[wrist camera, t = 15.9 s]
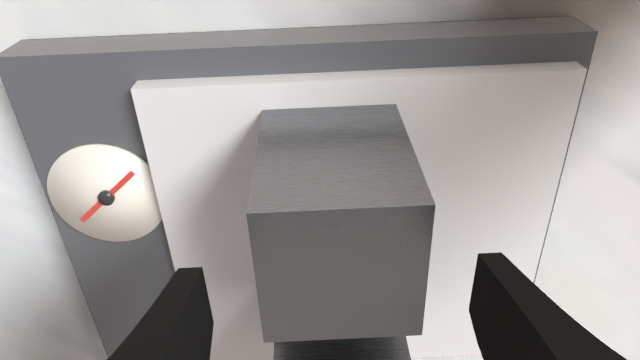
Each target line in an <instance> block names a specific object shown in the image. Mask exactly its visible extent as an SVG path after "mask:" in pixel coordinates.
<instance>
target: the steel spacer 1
mask: <svg viewBox="0 0 640 360" xmlns="http://www.w3.org/2000/svg"><path fill="white" fill-rule="evenodd" d="M434 215H435V202H434V200H433V197H432V195H431V192H430V190H429V187H428V185H427V182H426V179H425V177H424V174H423V172H422V169H421V167H420V164H419V162H418V159H417V156H416V154H415V151H414V149H413V146H412V144H411V141H410V139H409V136H408V134H407V131H406V128H405V126H404V123H403V121H402V118H401V116H400V113H399V111H398V108H397V105H396V104H384V105H361V106H339V107H316V108H293V109H271V110H263V111H262V117H261V124H260V130H259V136H258V143H257V149H256V155H255V162H254V168H253V174H252V180H251V187H250V193H249V199H248V206H247V212H246V216H247V223H248V230H249V238H250V245H251V252H252V260H253V267H254V274H255V282H256V289H257V296H258V304H259V311H260V318H261V326H262V333H263V340H264V343H269V342H290V341H311V340H332V339H353V338H374V337H395V336H416V335H422V331H423V321H424V311H425V302H426V292H427V282H428V273H429V263H430V253H431V244H432V234H433V225H434Z"/></svg>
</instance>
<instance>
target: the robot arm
mask: <svg viewBox="0 0 640 360" xmlns="http://www.w3.org/2000/svg"><path fill="white" fill-rule="evenodd" d="M469 313H470V317H471V321H472V325H473V329H474V332H475V336H476V340H477V343H478V346H479V349H480V352H481V354H482V357H483V359H484V360H626V359H625V358H624V357H622V356H621V355H619V354H618V353H617V352H615V351H614V350H612V349H611V348H609V347H608V346H607V345H605V344H604V343H603V342H601V341H600V340H599V339H598V338H596V337H595V336H594V335H593V334H591V333H590V332H589V331H588V330H586V329H585V328H584V327H583V326H581V325H580V324H579V323H578V322H576V321H575V320H574V319H573V318H572V317H570V316H569V315H568V314H567V313H566V312H565V311H563V310H562V309H561V308H560V307H559V306H558V305H557V304H556V303H554V302H553V301H552V300H551V299H550V298H549V297H548V296H547V295H546V294H545V293H543V292H542V291H541V290H540V289H539V288H538V287H537V286H536V285H535V284H534V283H533V282H532V281H531V280H530V279H529V278H528V277H527V276H525V275H524V274H523V273H522V272H521V271H520V270H519V269H518V268H517V267H516V266H515V265H514V264H513V263H512V262H511V261H510V260H509V259H508V258H507V257H506V256H505V255H504V254H503V253H501V252H499V253H478V257H477V263H476V269H475V275H474V281H473V287H472V292H471V298H470V304H469ZM213 325H214V321H213V316H212V312H211V307H210V302H209V297H208V292H207V287H206V283H205V278H204V273H203V268H202V267H192V268H179V269H178V270H177V271H176V272H175V273H174V274H173V276H172V277H171V279H170V280H169V282H168V283H167V284H166V286H165V287H164V289H163V290H162V291H161V293H160V294H159V296H158V297H157V298H156V300H155V301H154V302H153V304H152V305H151V307H150V308H149V309H148V311H147V312H146V313H145V314H144V316H143V317H142V318H141V320H140V321H139V322H138V323H137V325H136V326H135V327H134V329H133V330H132V331H131V332H130V334H129V335H128V336H127V337H126V338H125V339H124V341H123V342H122V343H121V344H120V345H119V346H118V348H117V349H116V350H115V351H114V352H113V353H112V355H111V356H110V357H109V358H108V359H107V360H210V353H211V344H212V335H213Z"/></svg>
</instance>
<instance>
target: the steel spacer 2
mask: <svg viewBox="0 0 640 360" xmlns="http://www.w3.org/2000/svg"><path fill="white" fill-rule="evenodd" d="M273 360H411V357H410V353H409V348H408V344H407V339H406V336H395V337H374V338H353V339H332V340H311V341H290V342H274V354H273Z"/></svg>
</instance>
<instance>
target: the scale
mask: <svg viewBox="0 0 640 360" xmlns="http://www.w3.org/2000/svg"><path fill="white" fill-rule="evenodd" d="M597 33H598V31H596V30H595V29H593V28H591V27H589V26H588V25H586V24H584V23H582V22H581V21H579V20H577V19H575V18H573V17H572V16H561V17H538V18H514V19H491V20H468V21H445V22H422V23H399V24H375V25H352V26H329V27H306V28H283V29H259V30H236V31H213V32H190V33H167V34H143V35H120V36H97V37H74V38H51V39H27V40H21V41H19V42H17V43H16V44H14V45H13V46H11V47H9V48H8V49H6V50H5V51H3V52H1V53H0V76H1V79H2V81H3V84H4V87H5V89H6V92H7V94H8V97H9V100H10V102H11V105H12V108H13V110H14V113H15V115H16V118H17V121H18V123H19V126H20V128H21V131H22V134H23V136H24V139H25V141H26V144H27V147H28V149H29V152H30V155H31V157H32V160H33V162H34V165H35V168H36V170H37V173H38V175H39V178H40V181H41V183H42V186H43V189H44V191H45V194H46V196H47V199H48V202H49V204H50V207H51V209H52V212H53V215H54V217H55V220H56V223H57V225H58V228H59V230H60V233H61V236H62V238H63V241H64V243H65V246H66V249H67V251H68V254H69V256H70V259H71V262H72V264H73V267H74V270H75V272H76V275H77V277H78V280H79V283H80V285H81V288H82V290H83V293H84V296H85V298H86V301H87V304H88V306H89V309H90V311H91V314H92V317H93V319H94V322H95V324H96V327H97V330H98V332H99V335H100V338H101V340H102V343H103V345H104V348H105V351H106V353H107V356H108V358H109V357H110V356H111V355H112V353H113V352H114V351H115V350H116V349H117V348H118V346H119V345H120V344H121V343H122V342H123V341H124V339H125V338H126V337H127V336H128V335H129V334H130V332H131V331H132V330H133V329H134V327H135V326H136V325H137V323H138V322H139V321H140V320H141V318H142V317H143V316H144V314H145V313H146V312H147V311H148V309H149V308H150V307H151V305H152V304H153V302H154V301H155V300H156V298H157V297H158V296H159V294H160V293H161V291H162V290H163V289H164V287H165V286H166V284H167V283H168V282H169V280H170V279H171V277H172V276H173V274H174V273H175V272H176V271H177V270H178V269H179V268H192V267H202V268H203V273H204V278H205V283H206V287H207V292H208V297H209V302H210V307H211V312H212V316H213V321H214V325H213V335H212V344H211V353H210V360H273V354H274V342H269V343H264V340H263V333H262V326H261V318H260V311H259V304H258V296H257V289H256V282H255V274H254V267H253V260H252V252H251V245H250V238H249V230H248V223H247V216H246V212H247V206H248V199H249V193H250V187H251V180H252V174H253V168H254V162H255V155H256V149H257V143H258V136H259V130H260V124H261V117H262V111H263V110H271V109H293V108H316V107H339V106H361V105H384V104H396V105H397V108H398V111H399V113H400V116H401V118H402V121H403V123H404V126H405V128H406V131H407V134H408V136H409V139H410V141H411V144H412V146H413V149H414V151H415V154H416V156H417V159H418V162H419V164H420V167H421V169H422V172H423V174H424V177H425V179H426V182H427V185H428V187H429V190H430V192H431V195H432V197H433V200H434V202H435V215H434V225H433V234H432V244H431V253H430V263H429V273H428V282H427V292H426V302H425V311H424V321H423V331H422V335H416V336H406V339H407V344H408V348H409V353H410V357H411V359H415V358H436V357H457V356H478V355H482V354H481V352H480V349H479V346H478V343H477V340H476V336H475V332H474V329H473V325H472V321H471V317H470V313H469V304H470V298H471V292H472V287H473V281H474V275H475V269H476V263H477V257H478V253H499V252H501V253H503V254H504V255H505V256H506V257H507V258H508V259H509V260H510V261H511V262H512V263H513V264H514V265H515V266H516V267H517V268H518V269H519V270H520V271H521V272H522V273H523V274H524V275H525V276H527V277H528V278H529V279H530V280H531V281H532V282H533V283H534V282H535V278H536V274H537V270H538V266H539V262H540V258H541V254H542V250H543V247H544V243H545V239H546V235H547V231H548V227H549V223H550V219H551V215H552V211H553V207H554V203H555V199H556V195H557V191H558V187H559V183H560V179H561V175H562V171H563V167H564V164H565V160H566V156H567V152H568V148H569V144H570V140H571V136H572V132H573V128H574V124H575V120H576V116H577V112H578V108H579V104H580V100H581V96H582V92H583V88H584V84H585V81H586V77H587V73H588V69H589V65H590V61H591V57H592V53H593V49H594V45H595V41H596V37H597Z"/></svg>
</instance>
